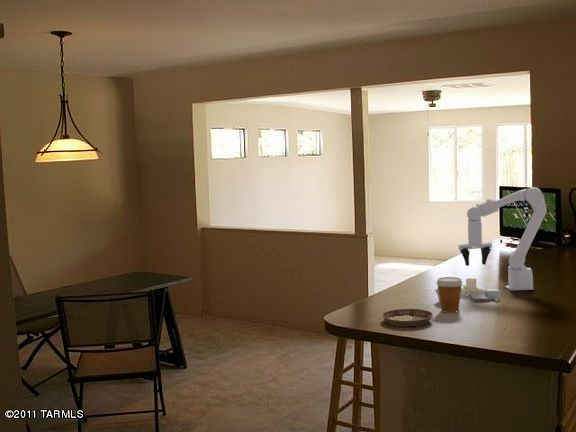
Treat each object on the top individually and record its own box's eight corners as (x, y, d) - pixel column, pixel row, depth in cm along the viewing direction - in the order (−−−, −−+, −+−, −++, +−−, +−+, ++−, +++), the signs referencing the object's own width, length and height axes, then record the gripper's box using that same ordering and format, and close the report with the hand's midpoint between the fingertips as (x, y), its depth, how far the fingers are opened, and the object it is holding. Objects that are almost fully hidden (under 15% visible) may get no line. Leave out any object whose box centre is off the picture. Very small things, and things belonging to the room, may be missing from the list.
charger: (476, 292, 255) (476, 277, 255) (476, 294, 251) (476, 279, 251) (466, 292, 256) (466, 277, 256) (466, 294, 253) (466, 278, 252)
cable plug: (496, 297, 244) (496, 289, 244) (503, 301, 236) (502, 293, 236) (485, 297, 245) (485, 289, 244) (491, 302, 236) (491, 293, 236)
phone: (483, 296, 247) (483, 293, 247) (489, 301, 238) (489, 298, 238) (468, 297, 247) (468, 294, 247) (474, 302, 238) (474, 299, 238)
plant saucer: (372, 323, 214) (371, 315, 214) (402, 313, 226) (401, 306, 226) (413, 332, 201) (413, 323, 201) (443, 321, 213) (442, 312, 213)
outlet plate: (476, 289, 262) (476, 284, 261) (483, 295, 250) (483, 290, 250) (457, 289, 262) (457, 285, 262) (464, 295, 250) (464, 290, 250)
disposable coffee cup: (445, 314, 221) (444, 282, 220) (432, 309, 230) (431, 278, 229) (468, 311, 224) (467, 280, 223) (454, 306, 233) (453, 275, 232)
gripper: (462, 236, 259) (463, 267, 260) (494, 234, 260) (495, 265, 262) (456, 234, 266) (457, 264, 267) (487, 232, 267) (488, 262, 269)
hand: (475, 264), depth 265 cm, fingers open, 7 cm apart
